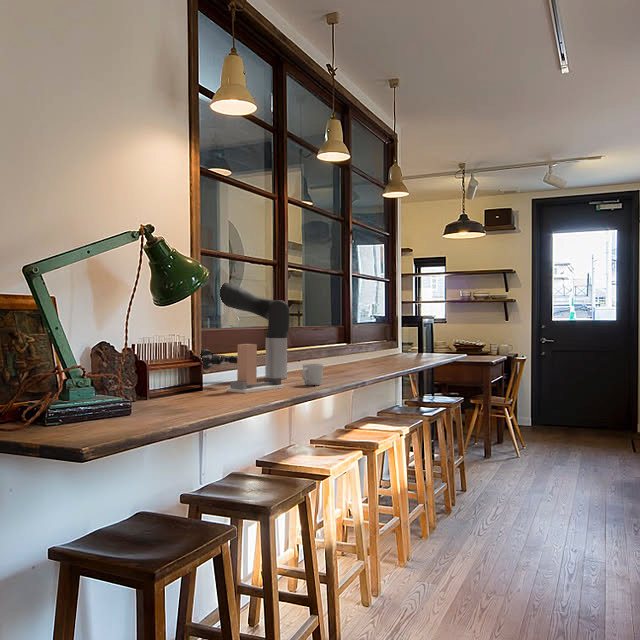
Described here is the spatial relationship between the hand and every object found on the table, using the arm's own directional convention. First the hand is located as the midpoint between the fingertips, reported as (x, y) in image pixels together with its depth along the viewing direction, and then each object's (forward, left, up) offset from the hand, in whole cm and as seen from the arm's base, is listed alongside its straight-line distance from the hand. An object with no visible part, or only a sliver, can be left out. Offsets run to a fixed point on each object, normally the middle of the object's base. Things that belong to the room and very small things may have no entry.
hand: (228, 361), depth 217 cm
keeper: (+4, +8, -8) cm, 12 cm away
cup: (-19, +26, -10) cm, 34 cm away
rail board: (-1, +10, -10) cm, 14 cm away
